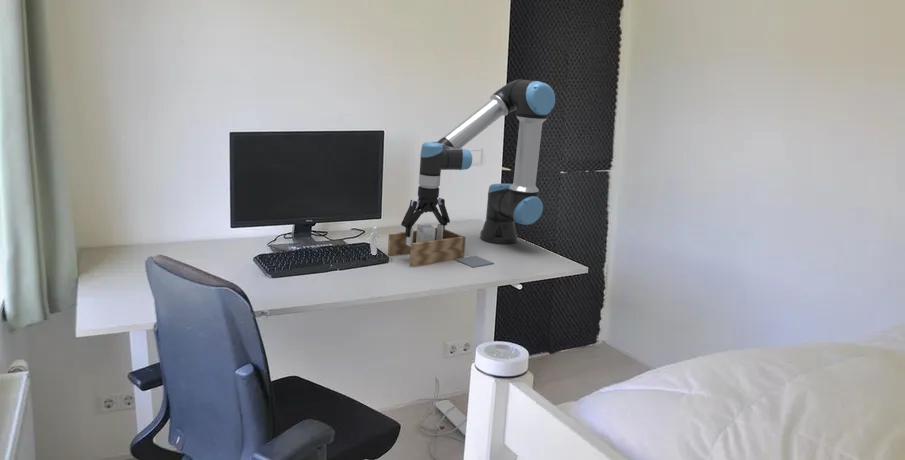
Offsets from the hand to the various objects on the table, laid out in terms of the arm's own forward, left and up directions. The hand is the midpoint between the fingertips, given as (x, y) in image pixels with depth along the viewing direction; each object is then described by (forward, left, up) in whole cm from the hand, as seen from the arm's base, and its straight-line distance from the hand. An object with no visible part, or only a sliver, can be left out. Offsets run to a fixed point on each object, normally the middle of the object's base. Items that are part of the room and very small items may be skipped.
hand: (424, 243), depth 258 cm
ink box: (0, 0, -5) cm, 5 cm away
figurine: (+18, -7, -5) cm, 20 cm away
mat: (-13, +13, -5) cm, 19 cm away
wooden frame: (-1, 0, -5) cm, 5 cm away
